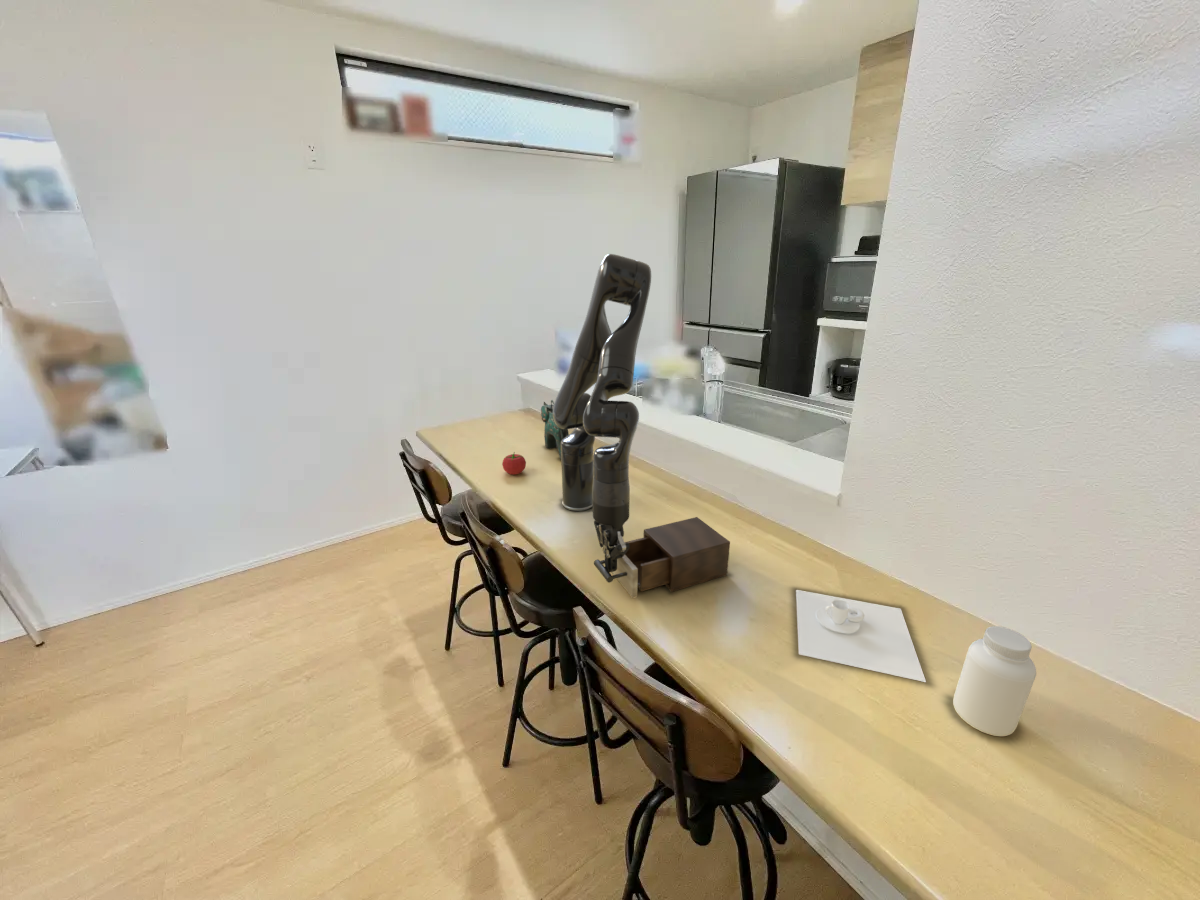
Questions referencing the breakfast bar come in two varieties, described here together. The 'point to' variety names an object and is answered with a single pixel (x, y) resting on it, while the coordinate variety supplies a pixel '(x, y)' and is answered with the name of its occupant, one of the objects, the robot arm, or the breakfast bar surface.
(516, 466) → the tomato
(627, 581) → the drawer
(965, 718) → the pill bottle
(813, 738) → the breakfast bar surface
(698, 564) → the cabinet
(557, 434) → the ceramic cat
